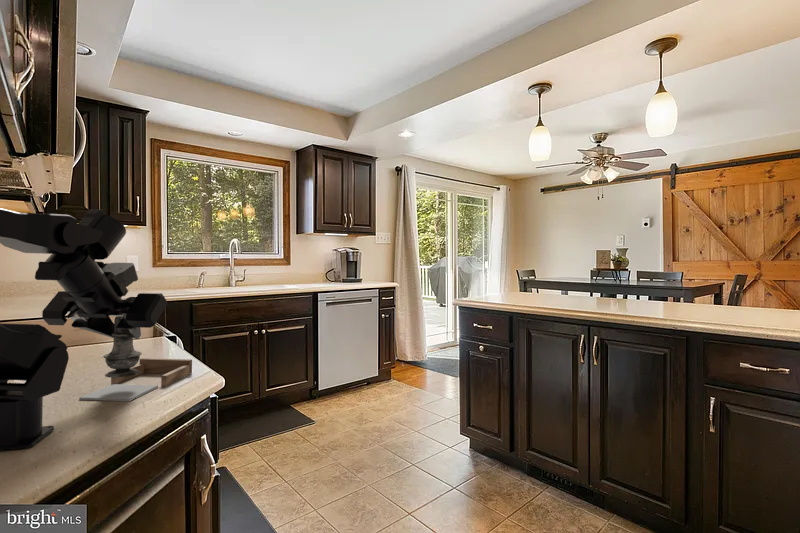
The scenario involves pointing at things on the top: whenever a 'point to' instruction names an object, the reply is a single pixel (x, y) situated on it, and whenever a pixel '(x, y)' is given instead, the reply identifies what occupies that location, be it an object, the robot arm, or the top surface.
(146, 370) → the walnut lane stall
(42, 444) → the top surface
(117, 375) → the salt shaker
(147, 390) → the slate mat
